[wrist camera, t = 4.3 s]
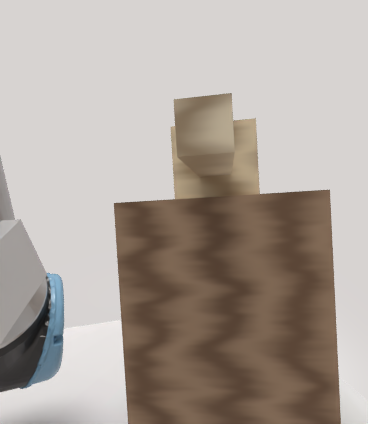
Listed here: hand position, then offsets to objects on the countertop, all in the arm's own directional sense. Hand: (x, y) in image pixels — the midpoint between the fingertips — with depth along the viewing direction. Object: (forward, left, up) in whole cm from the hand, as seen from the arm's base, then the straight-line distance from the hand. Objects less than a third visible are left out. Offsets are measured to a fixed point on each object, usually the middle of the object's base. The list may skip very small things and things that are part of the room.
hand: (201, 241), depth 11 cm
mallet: (0, +16, +2) cm, 16 cm away
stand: (0, +21, -28) cm, 35 cm away
